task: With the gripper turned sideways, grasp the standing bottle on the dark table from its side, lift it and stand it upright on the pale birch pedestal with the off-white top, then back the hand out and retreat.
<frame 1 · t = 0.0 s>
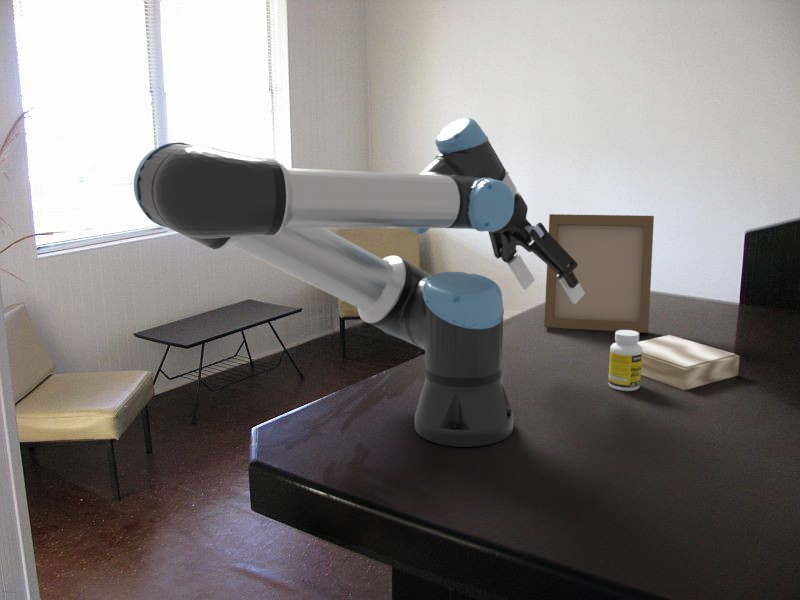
hand: (553, 291, 145), 15 cm above the table, tool tilted 35°, fingers open, 13 cm apart
supplement bottle: (624, 387, 139), on the table
photo frame: (597, 326, 178), on the table
pedestal: (675, 370, 147), on the table
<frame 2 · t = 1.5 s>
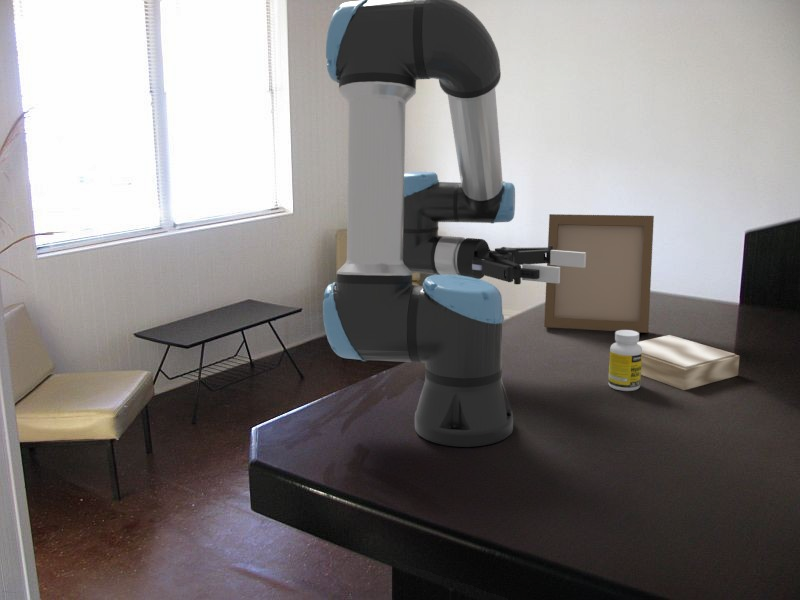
hand: (573, 267, 140), 20 cm above the table, tool horizontal, fingers open, 13 cm apart
nothing on the table moved.
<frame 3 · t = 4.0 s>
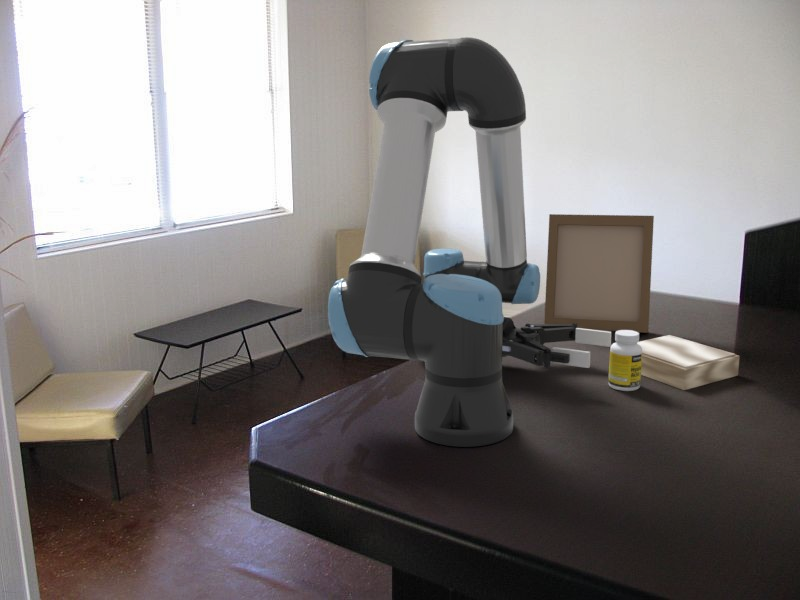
hand: (600, 349, 141), 6 cm above the table, tool horizontal, fingers open, 13 cm apart
nothing on the table moved.
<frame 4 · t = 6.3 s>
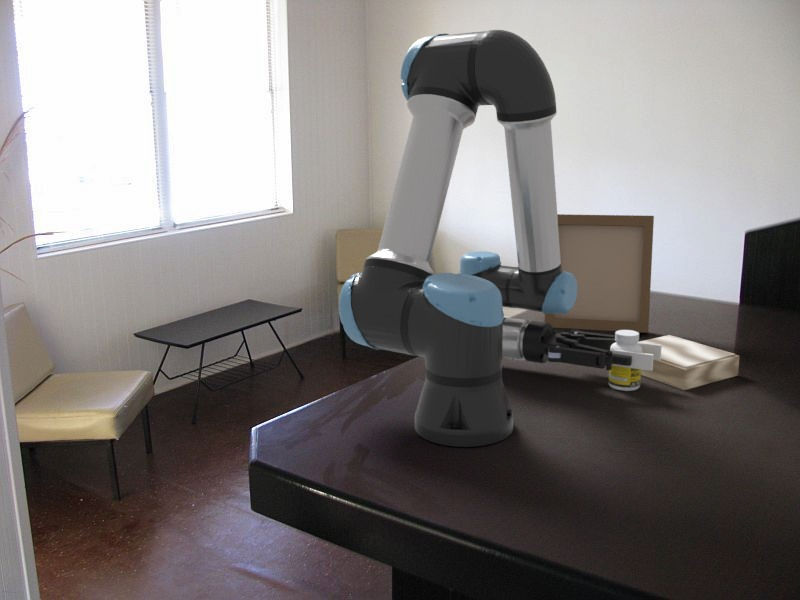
hand: (656, 357, 135), 6 cm above the table, tool horizontal, fingers closed on supplement bottle, 5 cm apart
supplement bottle: (624, 387, 139), on the table, touching gripper
everything else where it was.
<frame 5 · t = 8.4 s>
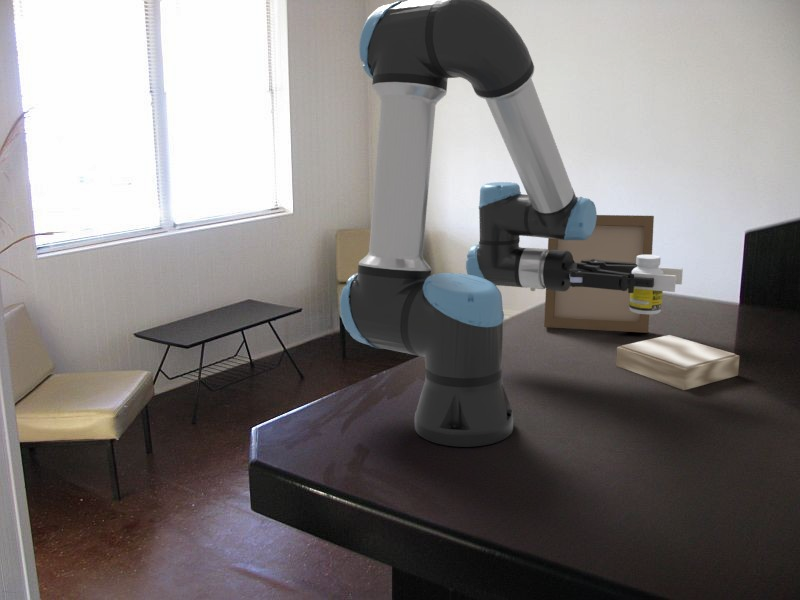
hand: (678, 280, 136), 19 cm above the table, tool horizontal, fingers closed on supplement bottle, 5 cm apart
supplement bottle: (645, 312, 140), point 12 cm above the table, touching gripper
everything else where it was.
when the fingers open (11 cm above the table, at t = 10.7 s): supplement bottle drops 1 cm, resting on pedestal.
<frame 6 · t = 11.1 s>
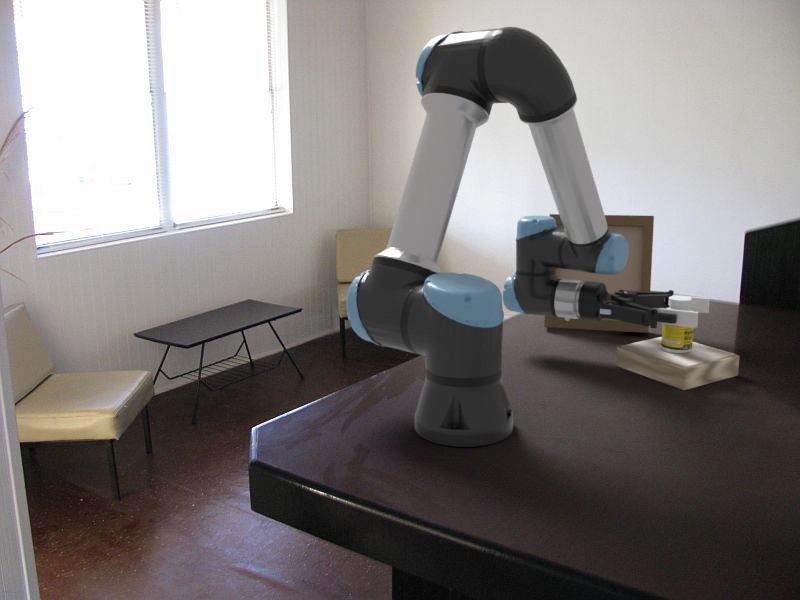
hand: (703, 312, 142), 11 cm above the table, tool horizontal, fingers open, 10 cm apart
supplement bottle: (676, 350, 146), point 4 cm above the table, touching pedestal
everything else where it was.
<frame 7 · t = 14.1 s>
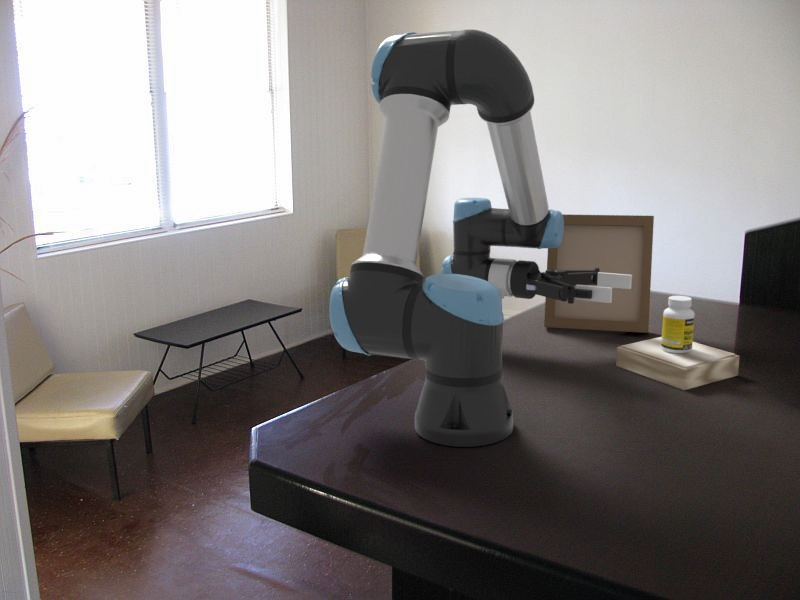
hand: (621, 288, 149), 14 cm above the table, tool horizontal, fingers open, 13 cm apart
nothing on the table moved.
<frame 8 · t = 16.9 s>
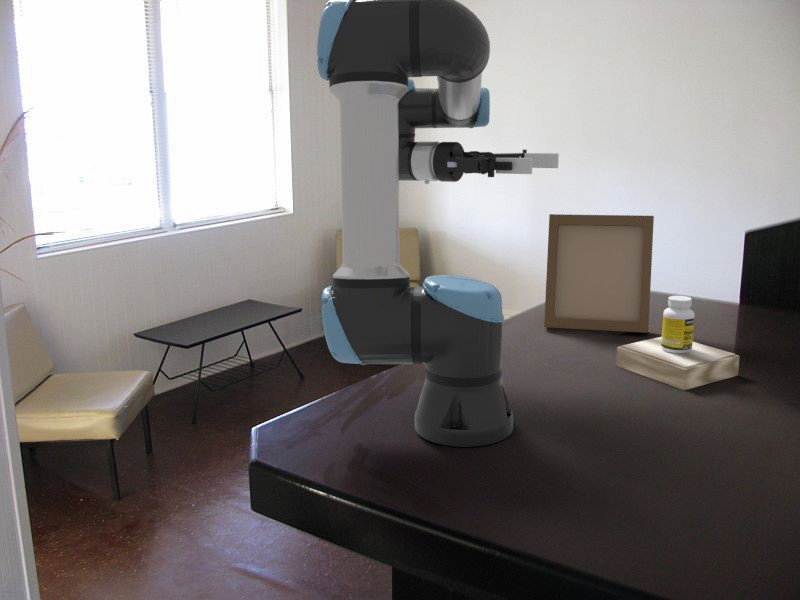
hand: (545, 163, 143), 38 cm above the table, tool horizontal, fingers open, 13 cm apart
nothing on the table moved.
at the end: supplement bottle inside the target area on the pedestal (0.1 cm from its centre), point 3.8 cm above the pedestal's base; supplement bottle tilted 0°; the gripper is holding nothing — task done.
